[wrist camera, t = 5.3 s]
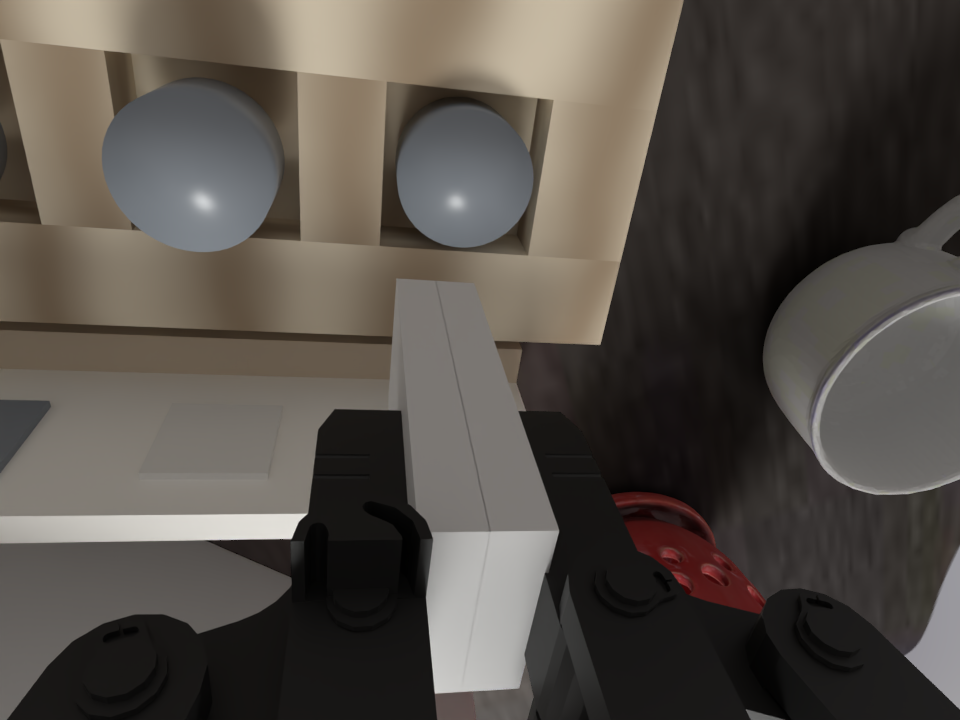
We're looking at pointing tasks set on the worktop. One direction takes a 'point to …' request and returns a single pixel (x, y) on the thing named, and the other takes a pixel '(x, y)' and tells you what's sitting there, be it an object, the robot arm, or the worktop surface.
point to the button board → (328, 157)
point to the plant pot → (686, 549)
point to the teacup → (876, 361)
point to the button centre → (194, 164)
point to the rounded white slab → (128, 600)
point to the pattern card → (174, 427)
